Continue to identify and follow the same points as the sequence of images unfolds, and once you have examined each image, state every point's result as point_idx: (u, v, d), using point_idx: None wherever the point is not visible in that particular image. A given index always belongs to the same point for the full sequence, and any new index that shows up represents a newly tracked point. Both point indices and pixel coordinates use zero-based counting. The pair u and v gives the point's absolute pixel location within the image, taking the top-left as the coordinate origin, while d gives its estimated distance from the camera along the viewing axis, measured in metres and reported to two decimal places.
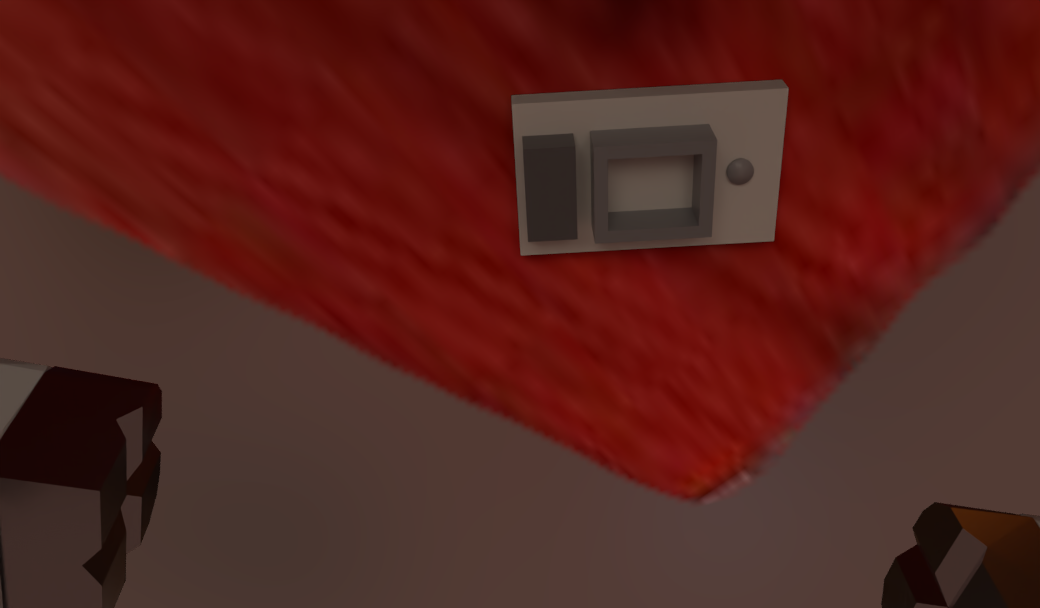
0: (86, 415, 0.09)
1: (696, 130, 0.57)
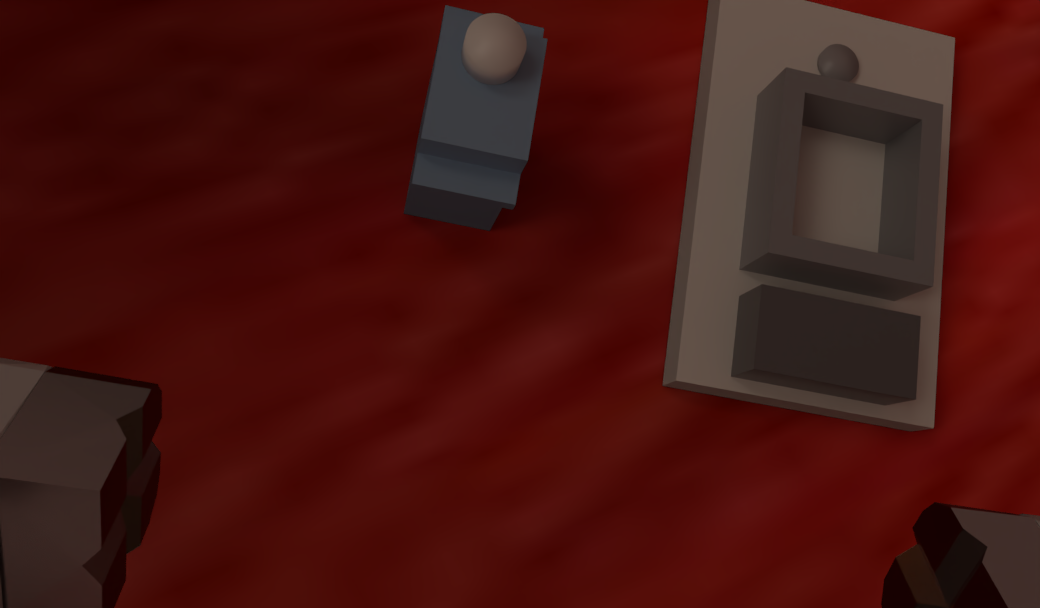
0: (86, 415, 0.09)
1: (765, 107, 0.36)
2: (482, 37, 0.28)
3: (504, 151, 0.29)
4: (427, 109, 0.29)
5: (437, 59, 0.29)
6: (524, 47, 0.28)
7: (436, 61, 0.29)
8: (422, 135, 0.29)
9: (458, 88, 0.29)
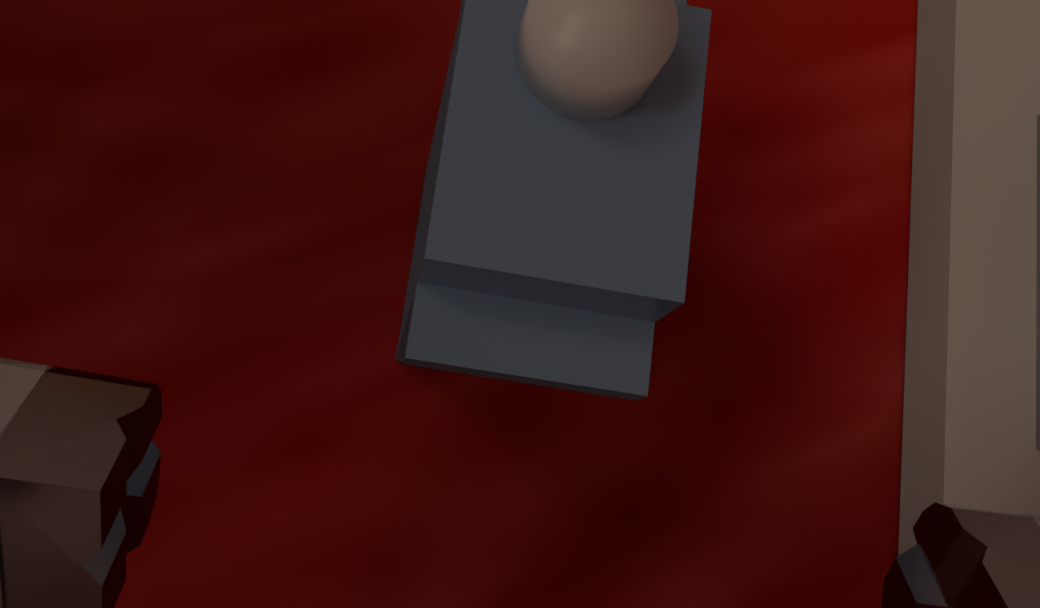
0: (86, 415, 0.09)
1: None
2: (570, 6, 0.11)
3: (627, 282, 0.12)
4: (438, 186, 0.12)
5: (459, 64, 0.12)
6: (673, 28, 0.12)
7: (456, 68, 0.12)
8: (427, 251, 0.12)
9: (511, 132, 0.12)
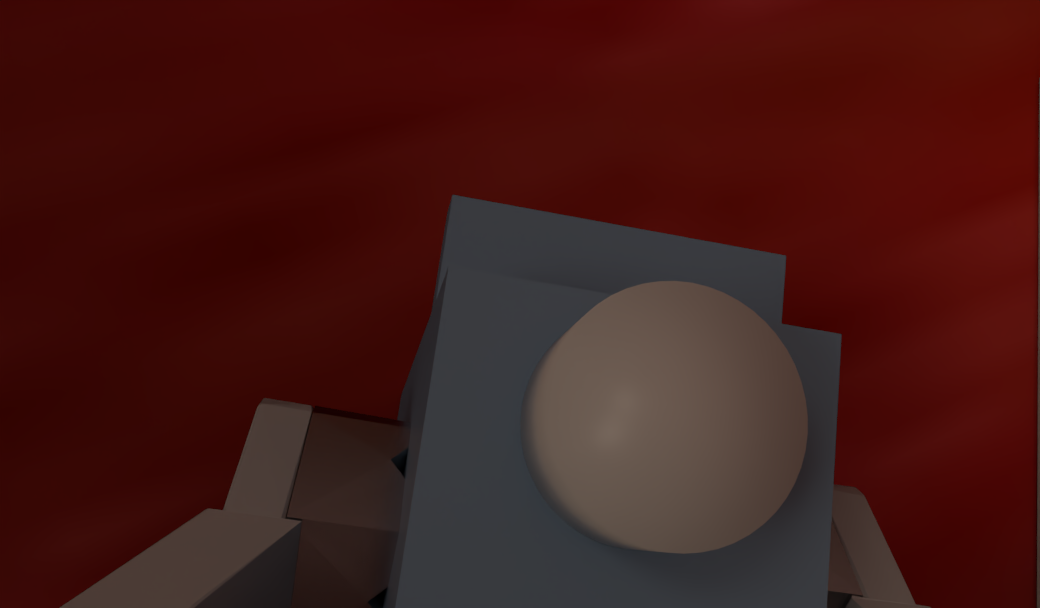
0: (363, 456, 0.09)
1: None
2: (619, 399, 0.06)
3: None
4: None
5: (425, 461, 0.07)
6: (800, 430, 0.07)
7: (421, 468, 0.07)
8: None
9: (514, 580, 0.07)
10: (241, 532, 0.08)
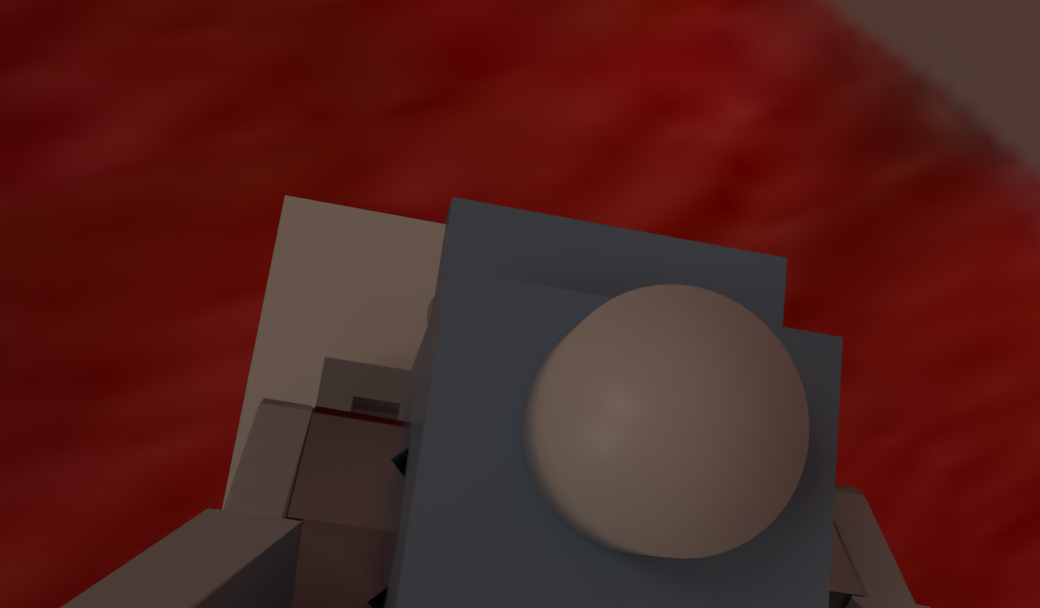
0: (363, 455, 0.09)
1: None
2: (620, 403, 0.06)
3: None
4: None
5: (425, 465, 0.07)
6: (802, 435, 0.07)
7: (421, 472, 0.07)
8: None
9: (514, 585, 0.07)
10: (241, 532, 0.08)
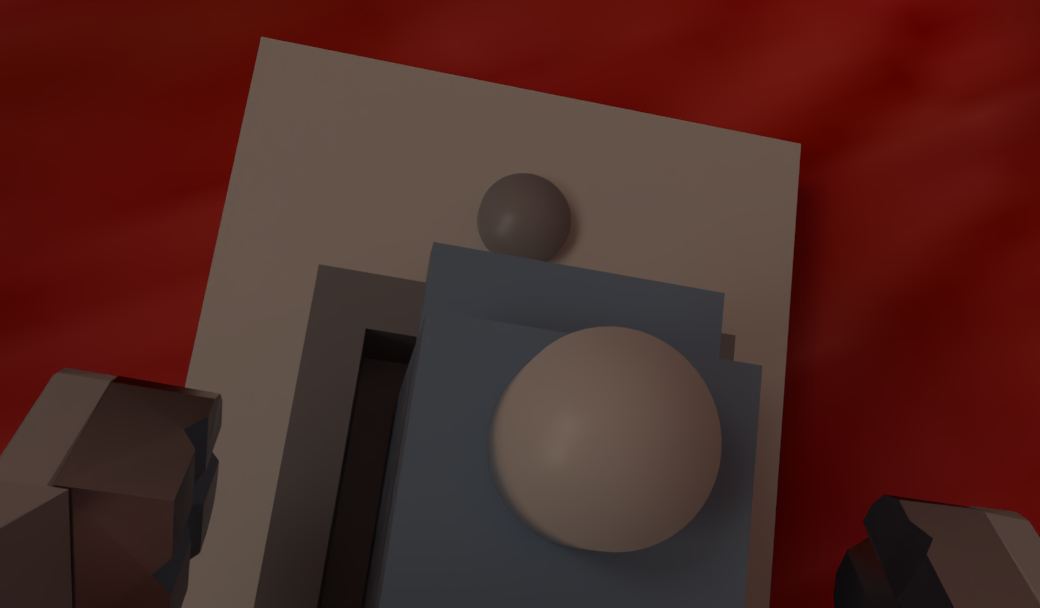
0: (154, 425, 0.09)
1: None
2: (564, 425, 0.08)
3: None
4: None
5: (406, 474, 0.08)
6: (715, 450, 0.08)
7: (403, 480, 0.08)
8: None
9: (480, 575, 0.08)
10: None
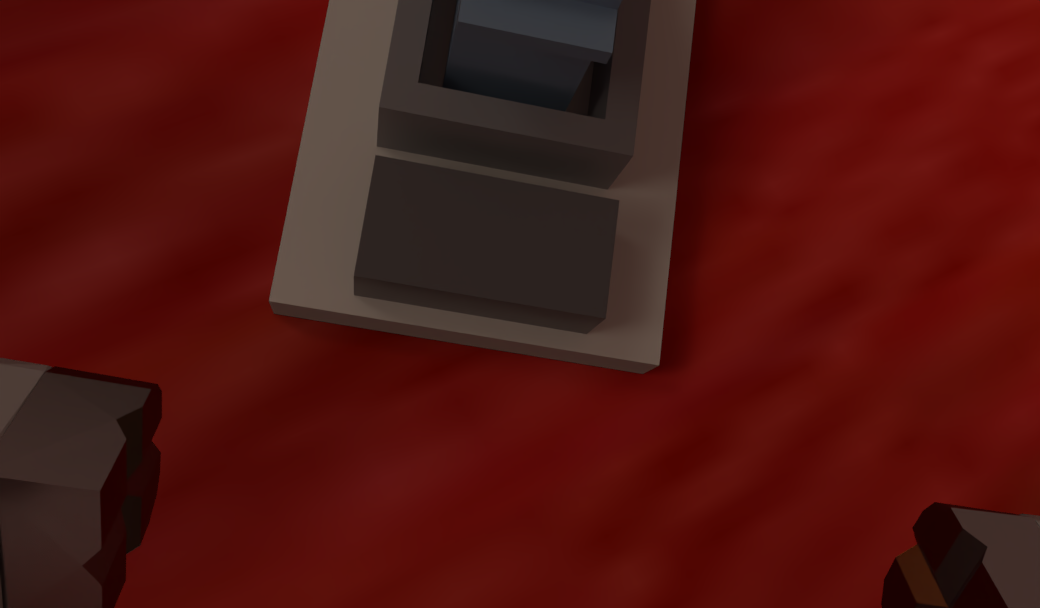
0: (86, 415, 0.09)
1: None
2: None
3: None
4: None
5: None
6: None
7: None
8: None
9: None
10: None
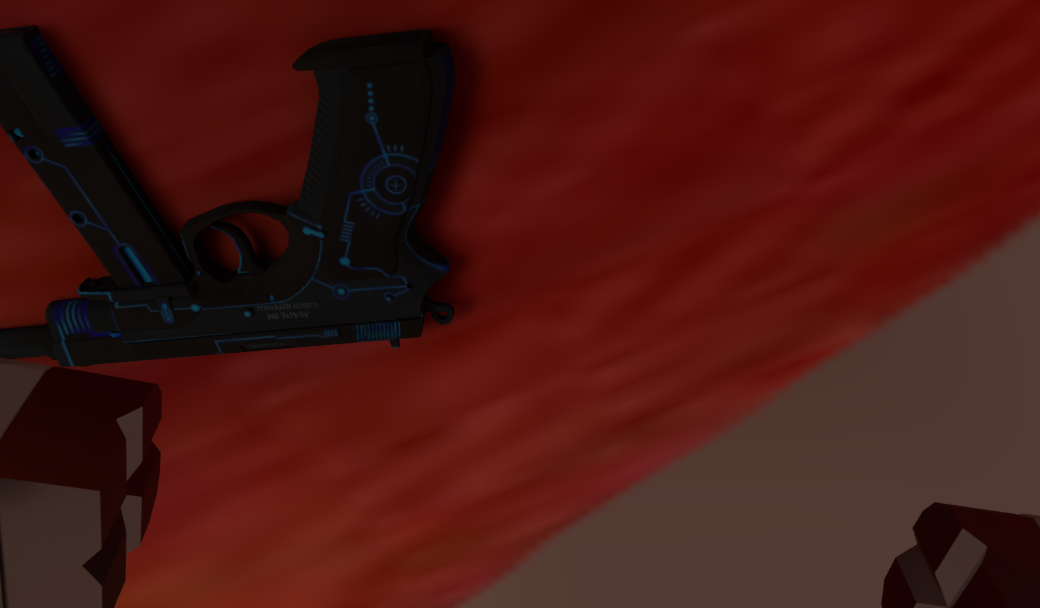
0: (86, 415, 0.09)
1: None
2: None
3: None
4: None
5: None
6: None
7: None
8: None
9: None
10: None
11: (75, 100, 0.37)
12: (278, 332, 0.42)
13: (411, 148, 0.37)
